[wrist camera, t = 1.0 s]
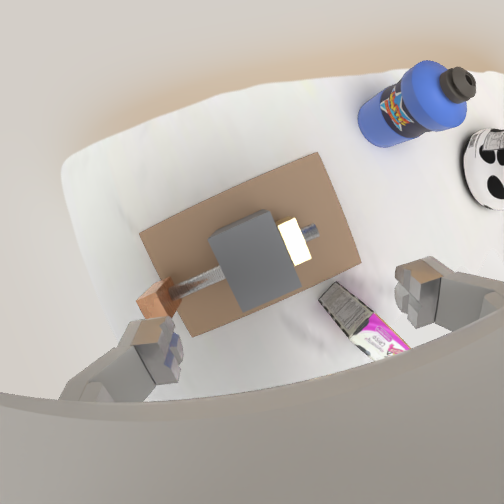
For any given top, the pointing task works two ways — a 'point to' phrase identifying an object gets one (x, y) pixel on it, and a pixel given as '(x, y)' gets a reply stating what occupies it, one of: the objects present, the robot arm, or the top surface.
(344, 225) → the bearing stand
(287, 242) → the spacer
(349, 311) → the candy bar box
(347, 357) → the top surface
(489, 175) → the milk container
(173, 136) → the top surface
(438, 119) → the water bottle
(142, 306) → the shaft
